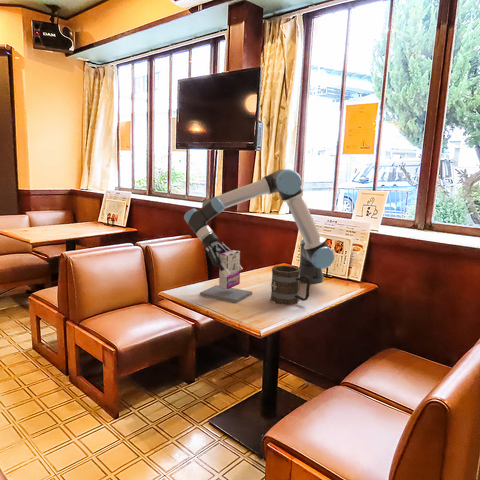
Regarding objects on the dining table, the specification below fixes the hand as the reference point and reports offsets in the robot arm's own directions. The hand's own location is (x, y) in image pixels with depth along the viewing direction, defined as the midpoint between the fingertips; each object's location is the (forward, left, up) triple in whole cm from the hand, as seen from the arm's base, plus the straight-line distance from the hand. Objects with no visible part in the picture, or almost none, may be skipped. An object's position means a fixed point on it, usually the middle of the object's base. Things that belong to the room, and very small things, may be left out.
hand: (234, 272), depth 190 cm
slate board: (+5, 0, -12) cm, 12 cm away
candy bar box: (+3, 0, -7) cm, 8 cm away
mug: (-25, -8, -12) cm, 29 cm away
